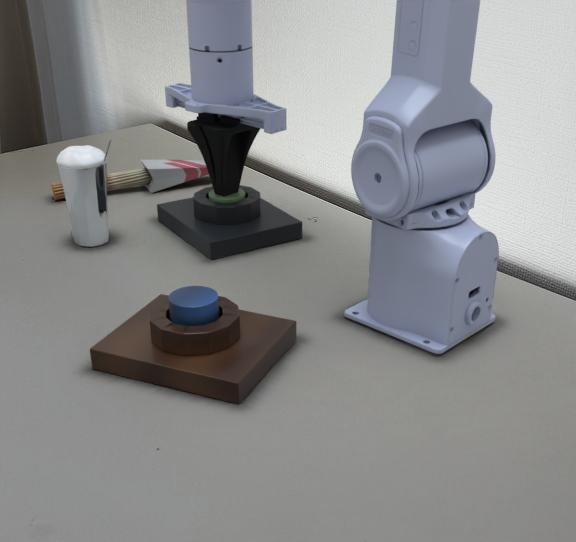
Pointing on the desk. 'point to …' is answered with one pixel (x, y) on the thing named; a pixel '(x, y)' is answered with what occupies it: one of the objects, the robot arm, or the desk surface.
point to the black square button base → (228, 223)
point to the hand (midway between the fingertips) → (226, 192)
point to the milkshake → (85, 192)
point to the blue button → (194, 306)
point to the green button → (227, 197)
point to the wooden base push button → (196, 350)
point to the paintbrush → (150, 175)
